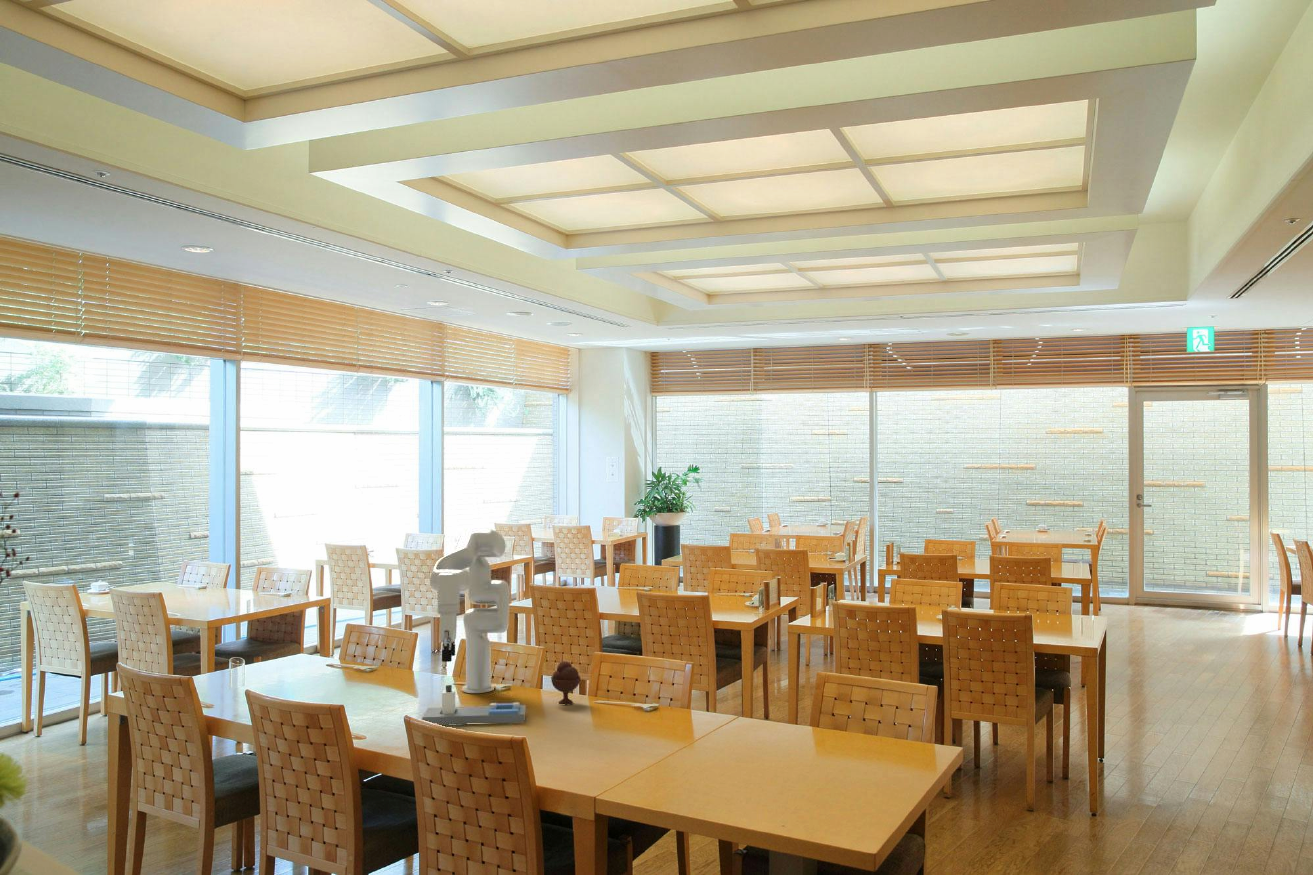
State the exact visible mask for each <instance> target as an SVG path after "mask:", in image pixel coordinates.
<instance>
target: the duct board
mask: <svg viewBox="0 0 1313 875" xmlns="http://www.w3.org/2000/svg"><path fill="white" fill-rule="evenodd" d="M526 708H527V705H526V704H521V703H520V702H517V701H516V702H508V703H507V702H504V703H497V702H491V703H490V704H489V705H479V706H478V705H477V706H474V705H473V706H455V714H442V706H441V707H439V706H438V707H427V708H426V710H425V712H424V713H423V715H422V718H421V719H422V720H425V721H429V722H432V723H437V724H439V725H446V726H450V725H449V724H456V725H455V726H458V725H457V724H467V723H510V724H514V723H513V722H517V723H516V724H519V723H518V722H524V723H525V721H526V720H525V719H526V715H527V710H526ZM524 720H525V721H524Z"/></svg>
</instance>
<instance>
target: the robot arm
mask: <svg viewBox="0 0 1313 875" xmlns="http://www.w3.org/2000/svg"><path fill="white" fill-rule="evenodd" d="M454 548H455V549H454V550H453V551H452V552H450V553H448V554H446V555H445V556H443V557H441V558H440V559H439V560H437V561H436V563H435V564H434V566H433V569H432V571H431V574H430V577H429V586H430V587H431V589H432V590H434V591H437V614H438V615H440V616H439V626H438V630H439V632H438V643H439V644H441V646H442V647H441V648H442V649H441V662H442V663H444V662H445V663H449V662H452V660H453V659H452V657H454V656H455V655H456V644H455V643H456V638H457V622H458V620H457V614H460V612H461V593H460V592H466V591H467V590H468V592H467V593H468V601H469V602H470V603H471V604H473V605H495V606H496V608H495V607H491V608H490V607H475V608H469V609H468V610H466V611H465V613H463V626H464V634H465V685H463V686H462V687H461V691H462V692H464V693H468V694H483V693H484V694H485V693H488V692H489V693H490V692H492V691H494V690H495V689H494V686H495V685H494V684H493V683H492V682H491V681H492V680H491V678H492V677H491V676H492V675H491V674H492V671H491V670H492V669H491V666H492V663H491V661H492V656H491V654H492V653H491V649H492V648H491V647H492V646H491V641H490V639H489V638H488V636H487V635H486V634H502V633H506V632H507V631H508V629H509V626H510V625H509V624H510V597H511V596H510V595H511V594H510V592H511V591H510V587H509V584H508V582H507V581H506V580H502V579H492V567H491V564H490V562H489V561H488V560H487V558H500V557H502V556H503V555H504V554H505V551H506V541H505V538H504V537H503V536H502V535H501V534H500V533H499V532H497V531H496V530H494V529H467V530H465V531H463V532H462V533H461V535H460V537H459V539H458V542H457V543H456V546H455V547H454ZM467 568H468V570H466V569H467ZM491 685H494V686H491Z"/></svg>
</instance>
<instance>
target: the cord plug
mask: <svg viewBox="0 0 1313 875" xmlns="http://www.w3.org/2000/svg"><path fill="white" fill-rule="evenodd" d="M441 707H442V714H455V707H456V689H453V688H452V684H446V685H445V689H443V690H442V692H441Z"/></svg>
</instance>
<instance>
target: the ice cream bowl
mask: <svg viewBox="0 0 1313 875" xmlns="http://www.w3.org/2000/svg"><path fill="white" fill-rule="evenodd" d="M550 679H551V680H550V681H551V684H552V687H554V688H555V690H557V691H558V692H561V693H562V694H563V698H562V699H560V700H559V701H558V703H559V704H571V703H573V704H574V702H573V700H572V699H570V698H569V693H570V692H573V691H574V690H575V689H576V688H577V687H578V686H579V685H580V682H581V675H579V671H578V669H577V668H575V667H574V666H573V665H572V664H571V663H570V662H569V661H561V662H559V664H558V665H557V668H556V671H554V672H553V674H552V676H551V677H550ZM559 704H558V705H559ZM571 705H572V704H571Z"/></svg>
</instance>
